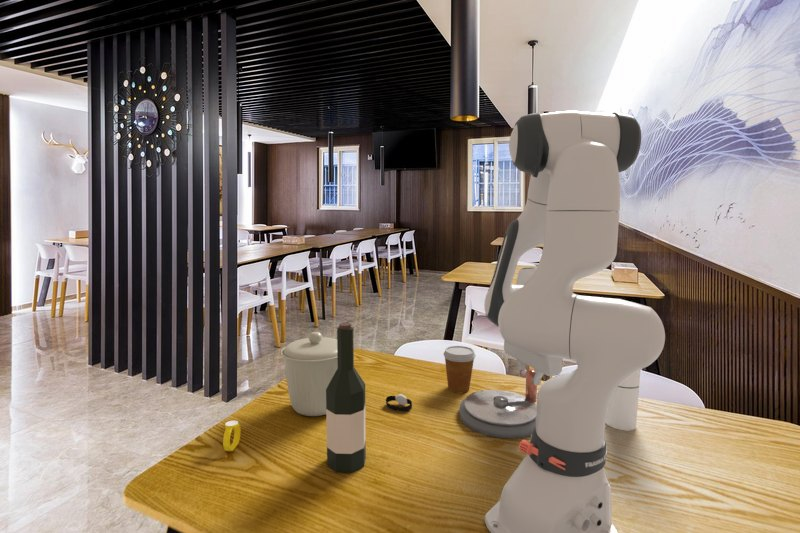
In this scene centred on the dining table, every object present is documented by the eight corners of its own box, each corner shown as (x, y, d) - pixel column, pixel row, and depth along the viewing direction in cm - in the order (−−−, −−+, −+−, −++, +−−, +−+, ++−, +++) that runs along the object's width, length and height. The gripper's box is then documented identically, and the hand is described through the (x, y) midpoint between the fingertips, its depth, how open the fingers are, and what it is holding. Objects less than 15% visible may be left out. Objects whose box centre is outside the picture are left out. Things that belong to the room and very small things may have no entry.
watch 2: (415, 407, 116) (415, 395, 116) (407, 414, 112) (407, 401, 112) (390, 401, 120) (390, 389, 119) (382, 408, 116) (382, 396, 115)
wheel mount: (505, 448, 96) (505, 439, 96) (442, 413, 113) (442, 405, 112) (559, 421, 108) (560, 413, 108) (495, 393, 125) (496, 386, 125)
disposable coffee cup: (437, 385, 131) (437, 347, 129) (463, 380, 135) (464, 343, 133) (453, 397, 122) (454, 357, 121) (481, 391, 126) (482, 352, 125)
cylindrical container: (628, 417, 111) (635, 323, 108) (641, 431, 104) (649, 331, 101) (600, 416, 111) (606, 322, 108) (610, 429, 104) (617, 330, 101)
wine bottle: (323, 455, 93) (321, 321, 89) (360, 448, 96) (359, 317, 92) (331, 477, 85) (328, 331, 82) (371, 468, 88) (370, 327, 84)
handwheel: (480, 430, 99) (481, 390, 98) (454, 396, 117) (455, 363, 116) (554, 422, 103) (556, 384, 102) (518, 391, 121) (520, 358, 120)
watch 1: (232, 442, 99) (231, 417, 98) (243, 442, 99) (243, 417, 98) (220, 454, 93) (219, 428, 92) (232, 455, 93) (232, 428, 92)
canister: (314, 431, 103) (312, 347, 100) (268, 410, 114) (265, 334, 111) (364, 405, 117) (363, 330, 115) (319, 388, 128) (317, 320, 126)
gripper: (499, 320, 119) (497, 368, 121) (546, 340, 100) (544, 397, 101) (518, 318, 121) (516, 366, 123) (568, 338, 102) (565, 393, 103)
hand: (529, 380), depth 112 cm, fingers open, 4 cm apart
